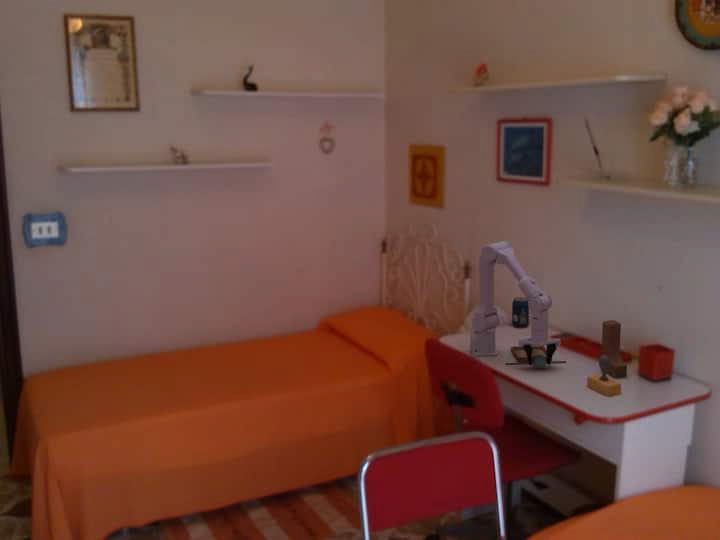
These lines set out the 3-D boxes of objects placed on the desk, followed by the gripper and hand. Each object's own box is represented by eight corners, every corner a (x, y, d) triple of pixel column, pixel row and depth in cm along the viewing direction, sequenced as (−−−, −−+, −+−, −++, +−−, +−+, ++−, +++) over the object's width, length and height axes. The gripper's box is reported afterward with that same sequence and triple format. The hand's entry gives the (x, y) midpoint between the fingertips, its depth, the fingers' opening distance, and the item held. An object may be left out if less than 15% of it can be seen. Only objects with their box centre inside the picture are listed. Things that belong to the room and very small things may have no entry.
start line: (506, 365, 257) (506, 364, 257) (505, 363, 259) (505, 363, 258) (566, 362, 257) (566, 362, 257) (565, 361, 258) (565, 360, 258)
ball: (533, 371, 250) (533, 357, 249) (530, 366, 255) (530, 352, 254) (547, 370, 250) (548, 357, 249) (544, 365, 255) (544, 352, 254)
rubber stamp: (586, 386, 235) (587, 352, 233) (600, 383, 237) (601, 349, 235) (607, 397, 226) (608, 361, 224) (621, 393, 228) (622, 358, 226)
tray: (517, 362, 260) (517, 357, 259) (510, 351, 272) (510, 346, 271) (551, 361, 259) (552, 356, 259) (543, 349, 272) (543, 345, 271)
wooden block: (626, 377, 241) (629, 326, 237) (615, 378, 240) (617, 328, 236) (612, 368, 250) (613, 319, 246) (600, 369, 249) (602, 320, 245)
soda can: (518, 322, 307) (519, 296, 304) (532, 326, 302) (532, 298, 299) (508, 326, 303) (508, 299, 300) (521, 329, 297) (522, 302, 295)
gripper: (521, 332, 246) (521, 369, 249) (563, 330, 246) (562, 367, 249) (517, 326, 253) (517, 362, 256) (558, 324, 252) (557, 360, 255)
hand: (539, 364), depth 253 cm, fingers open, 6 cm apart
